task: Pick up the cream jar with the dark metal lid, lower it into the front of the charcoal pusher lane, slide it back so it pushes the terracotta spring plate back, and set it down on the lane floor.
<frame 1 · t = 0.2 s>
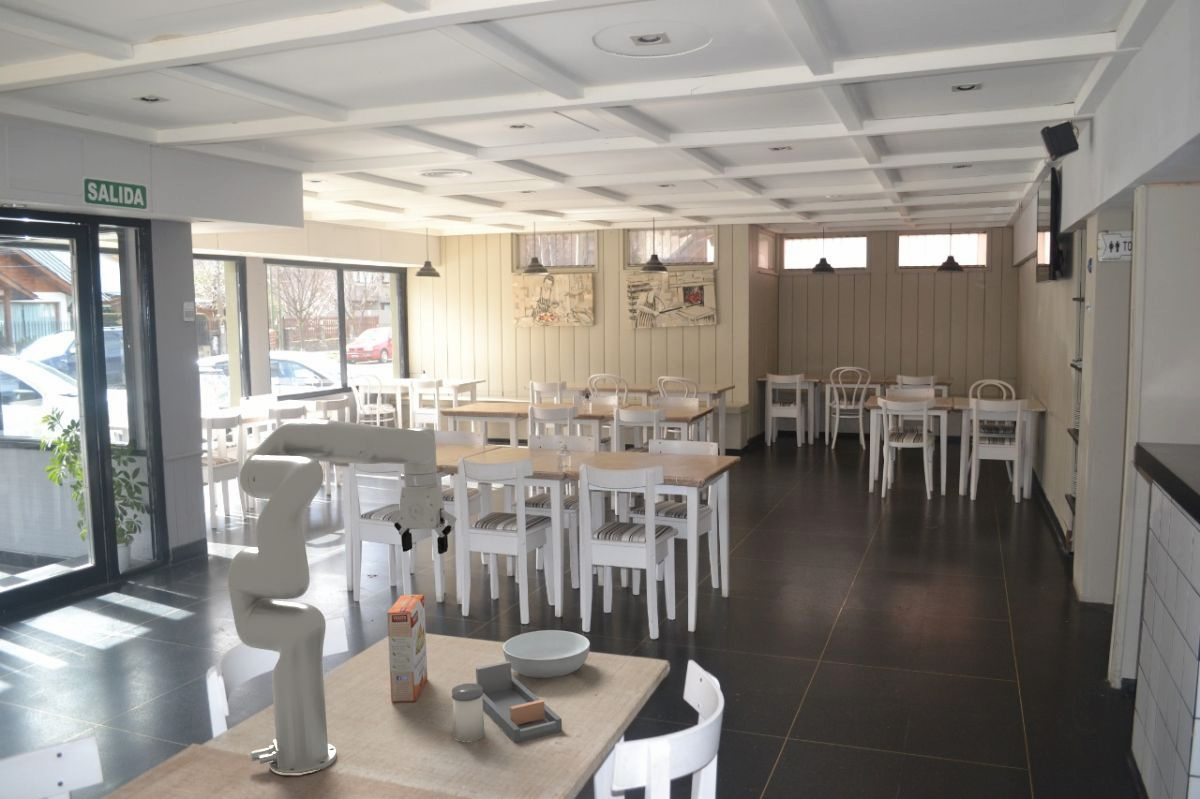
hand: (425, 551, 221), 31 cm above the table, tool pointing down, fingers open, 9 cm apart
serving bowl: (547, 672, 226), on the table
lane: (515, 713, 202), on the table
pusher: (523, 709, 197), point 3 cm above the table, slide at 0.0 cm
cracker box: (410, 691, 217), on the table
jar: (469, 735, 192), on the table
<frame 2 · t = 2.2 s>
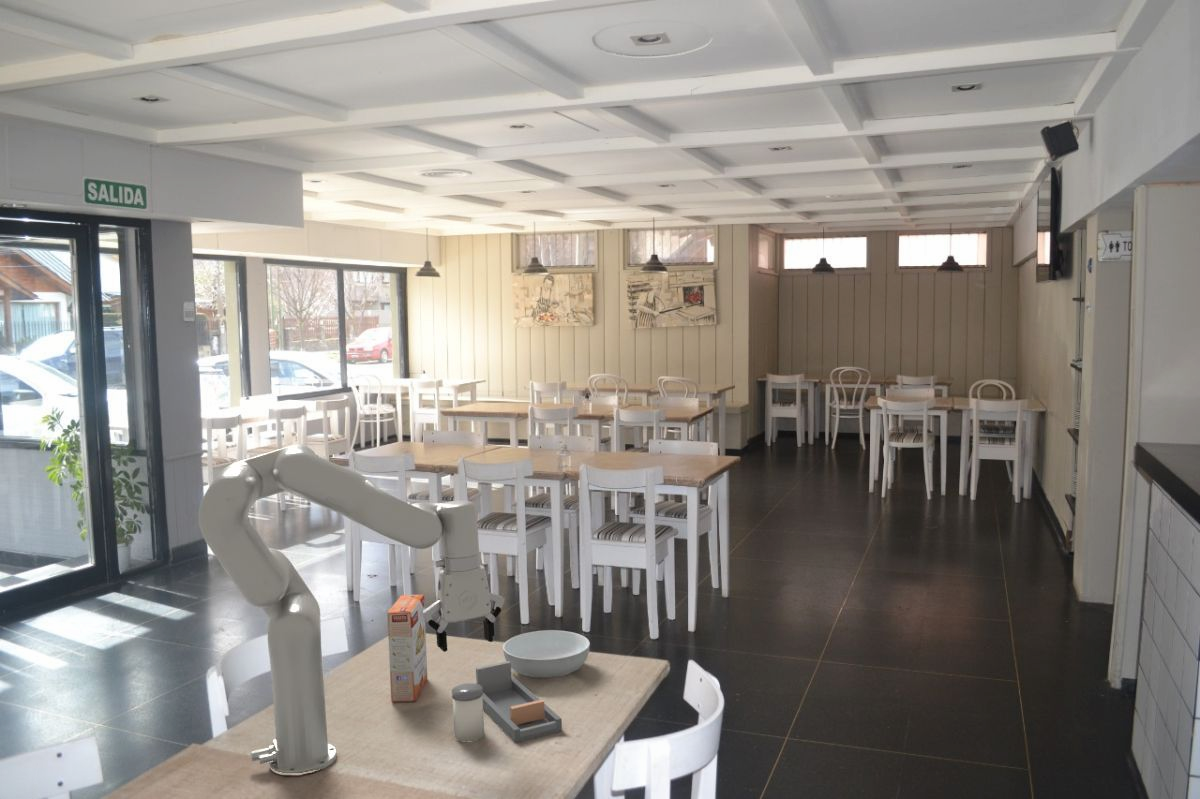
hand: (466, 644, 191), 19 cm above the table, tool pointing down, fingers open, 9 cm apart
nothing on the table moved.
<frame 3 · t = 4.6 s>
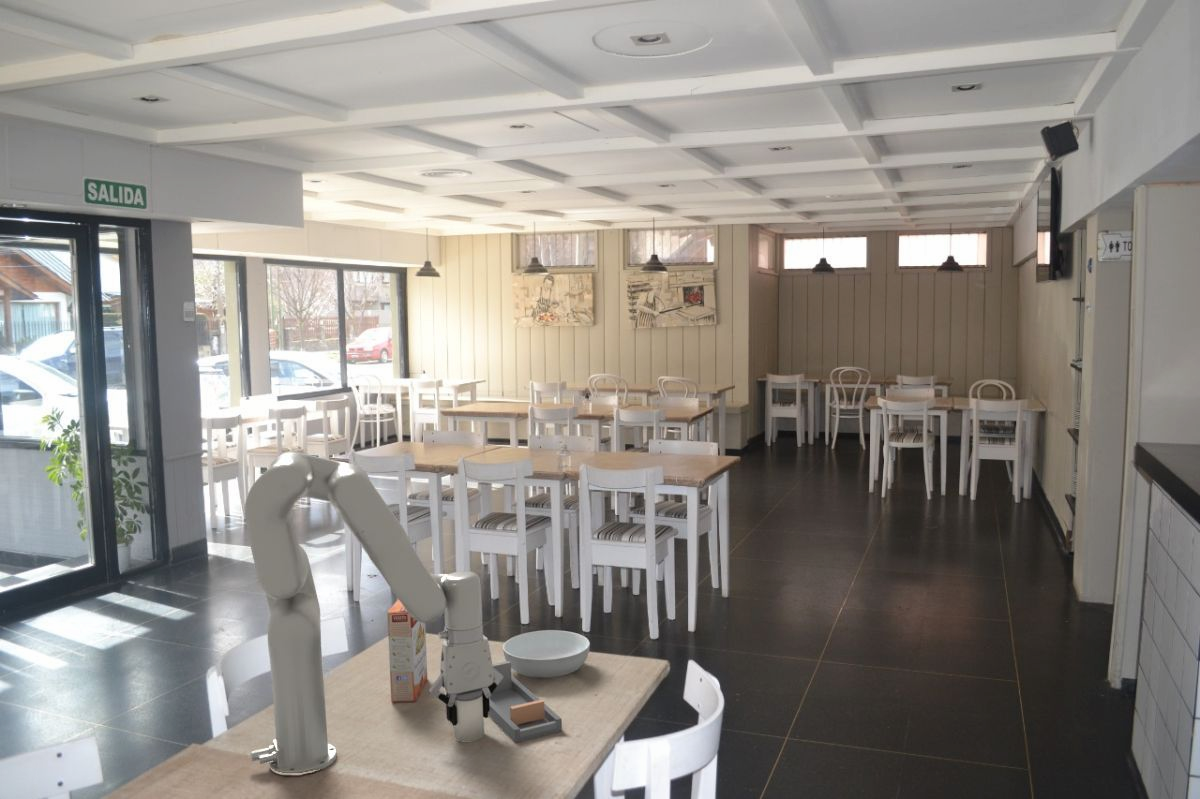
hand: (468, 718, 192), 4 cm above the table, tool pointing down, fingers closed on jar, 6 cm apart
jar: (469, 735, 192), on the table, touching gripper
everything else where it was.
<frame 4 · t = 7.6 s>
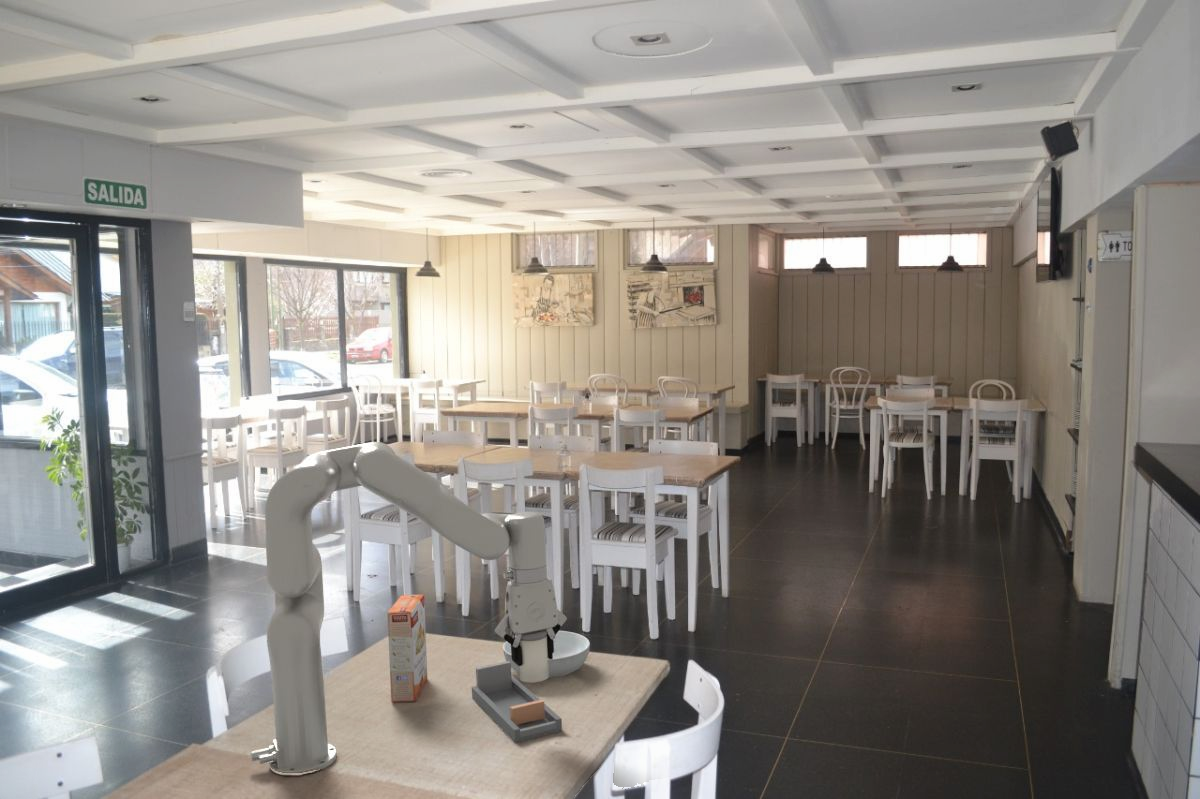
hand: (533, 659, 191), 16 cm above the table, tool pointing down, fingers closed on jar, 6 cm apart
jar: (534, 676, 191), point 12 cm above the table, touching gripper
everything else where it was.
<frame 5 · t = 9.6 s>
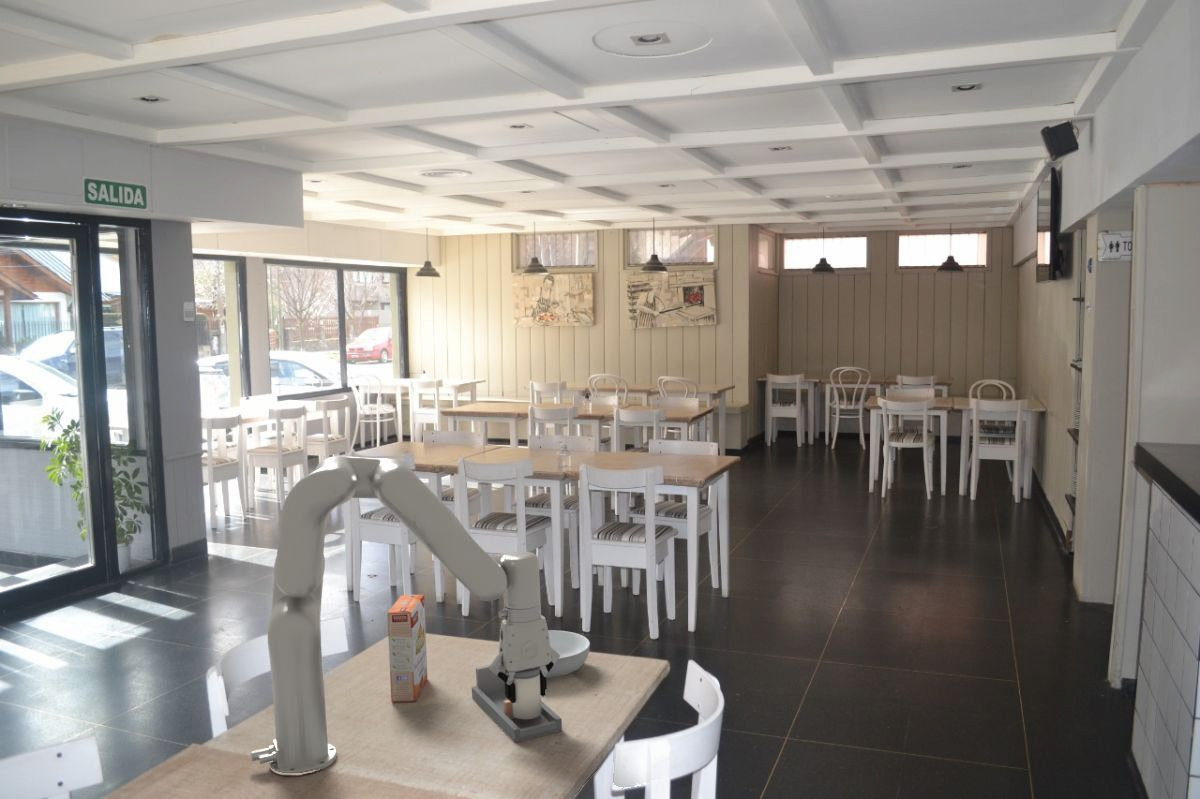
hand: (526, 696, 195), 6 cm above the table, tool pointing down, fingers closed on jar, 6 cm apart
pusher: (517, 703, 200), point 3 cm above the table, slide at 3.6 cm, touching jar
jar: (527, 713, 195), point 3 cm above the table, touching gripper, pusher
everything else where it was.
when the fingers open (5 cm above the table, at t = 11.0 s): jar stays where it is, resting on lane, pusher.
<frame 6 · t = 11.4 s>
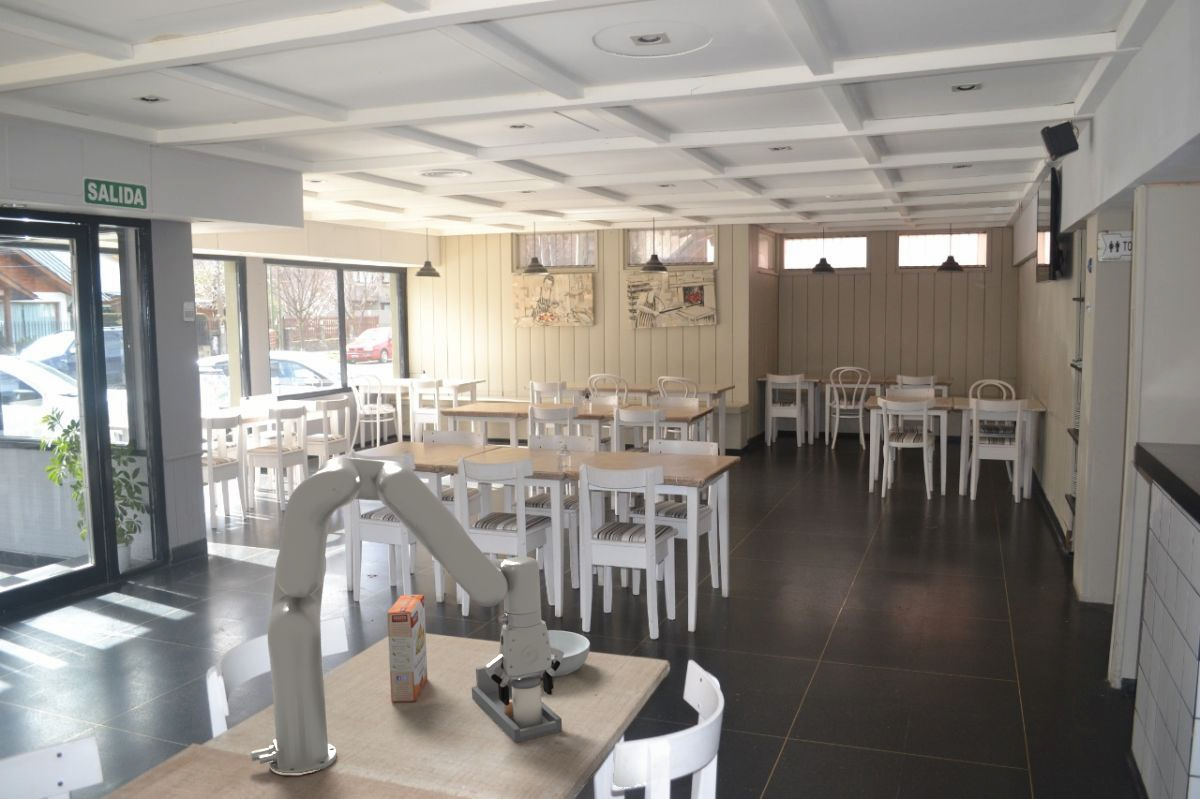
hand: (526, 697, 195), 6 cm above the table, tool pointing down, fingers open, 9 cm apart
jar: (527, 723, 195), point 1 cm above the table, touching lane, pusher
everything else where it was.
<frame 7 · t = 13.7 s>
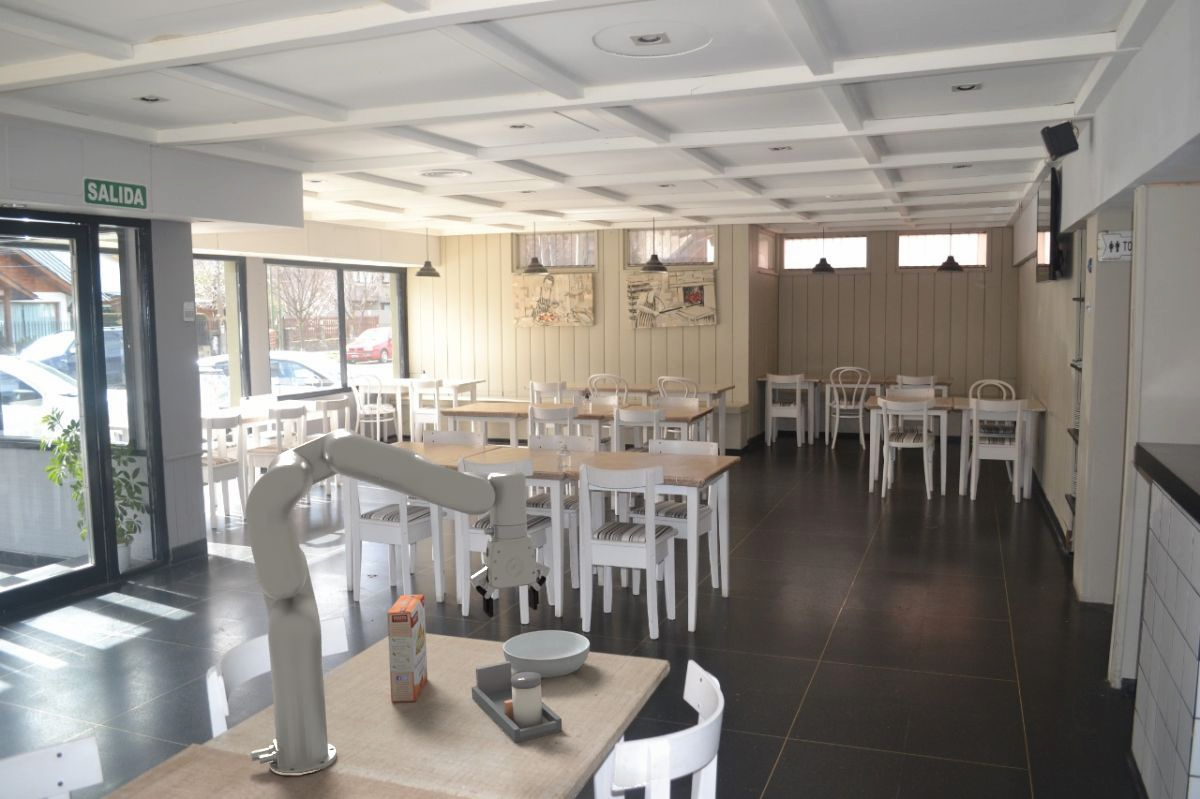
hand: (511, 611, 195), 24 cm above the table, tool pointing down, fingers open, 9 cm apart
nothing on the table moved.
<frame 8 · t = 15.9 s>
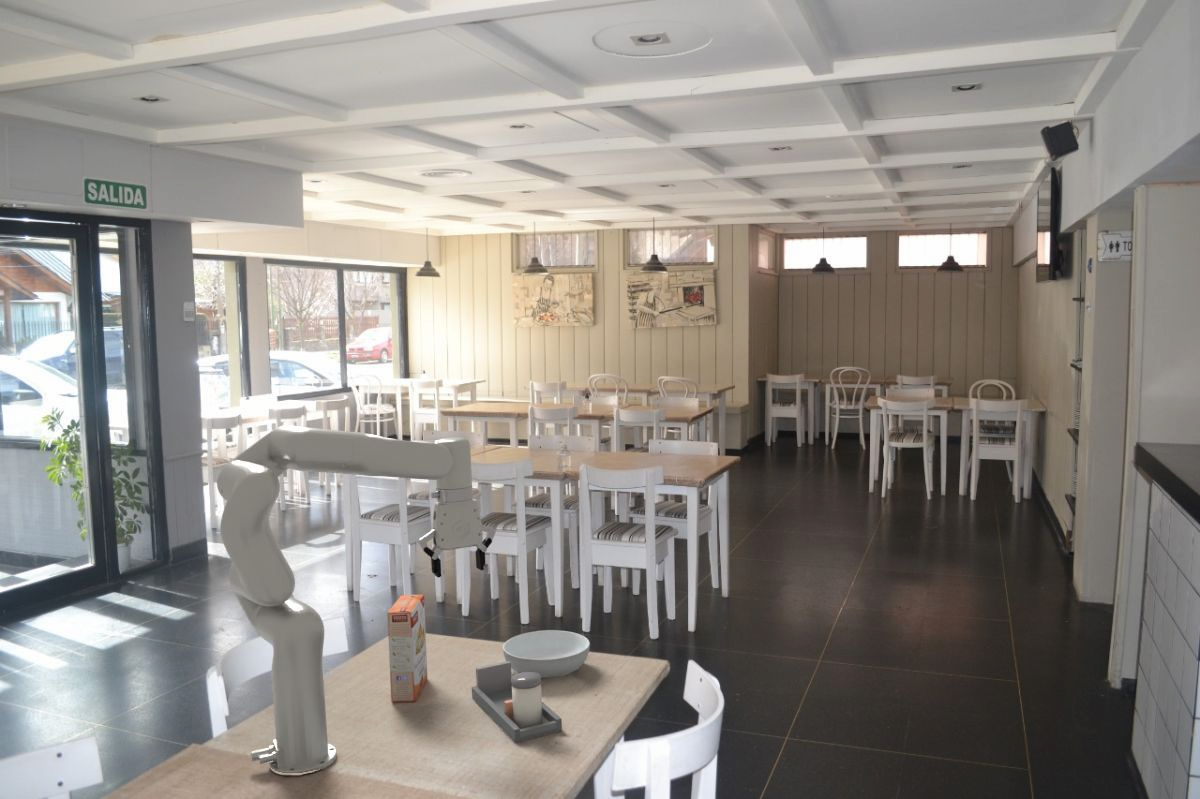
hand: (459, 572, 204), 30 cm above the table, tool pointing down, fingers open, 9 cm apart
nothing on the table moved.
at the end: jar 0.4 cm from the target spot on the lane, point 0.8 cm above the lane's base; jar tilted 0°; pusher slide at 3.4 cm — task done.
